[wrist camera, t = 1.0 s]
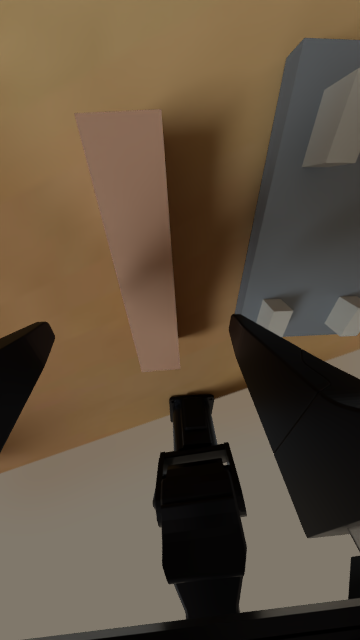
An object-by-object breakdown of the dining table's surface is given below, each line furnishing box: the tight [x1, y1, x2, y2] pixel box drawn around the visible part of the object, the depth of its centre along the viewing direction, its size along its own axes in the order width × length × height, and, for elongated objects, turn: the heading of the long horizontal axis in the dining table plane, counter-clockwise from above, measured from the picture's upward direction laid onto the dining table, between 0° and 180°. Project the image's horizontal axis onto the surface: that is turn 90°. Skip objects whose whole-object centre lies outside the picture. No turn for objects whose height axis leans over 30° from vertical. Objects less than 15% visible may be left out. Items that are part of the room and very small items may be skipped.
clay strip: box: [74, 109, 180, 372], centre depth 14 cm, size 16×4×4 cm, turn 3°
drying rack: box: [235, 38, 360, 337], centre depth 14 cm, size 18×12×4 cm, turn 0°
